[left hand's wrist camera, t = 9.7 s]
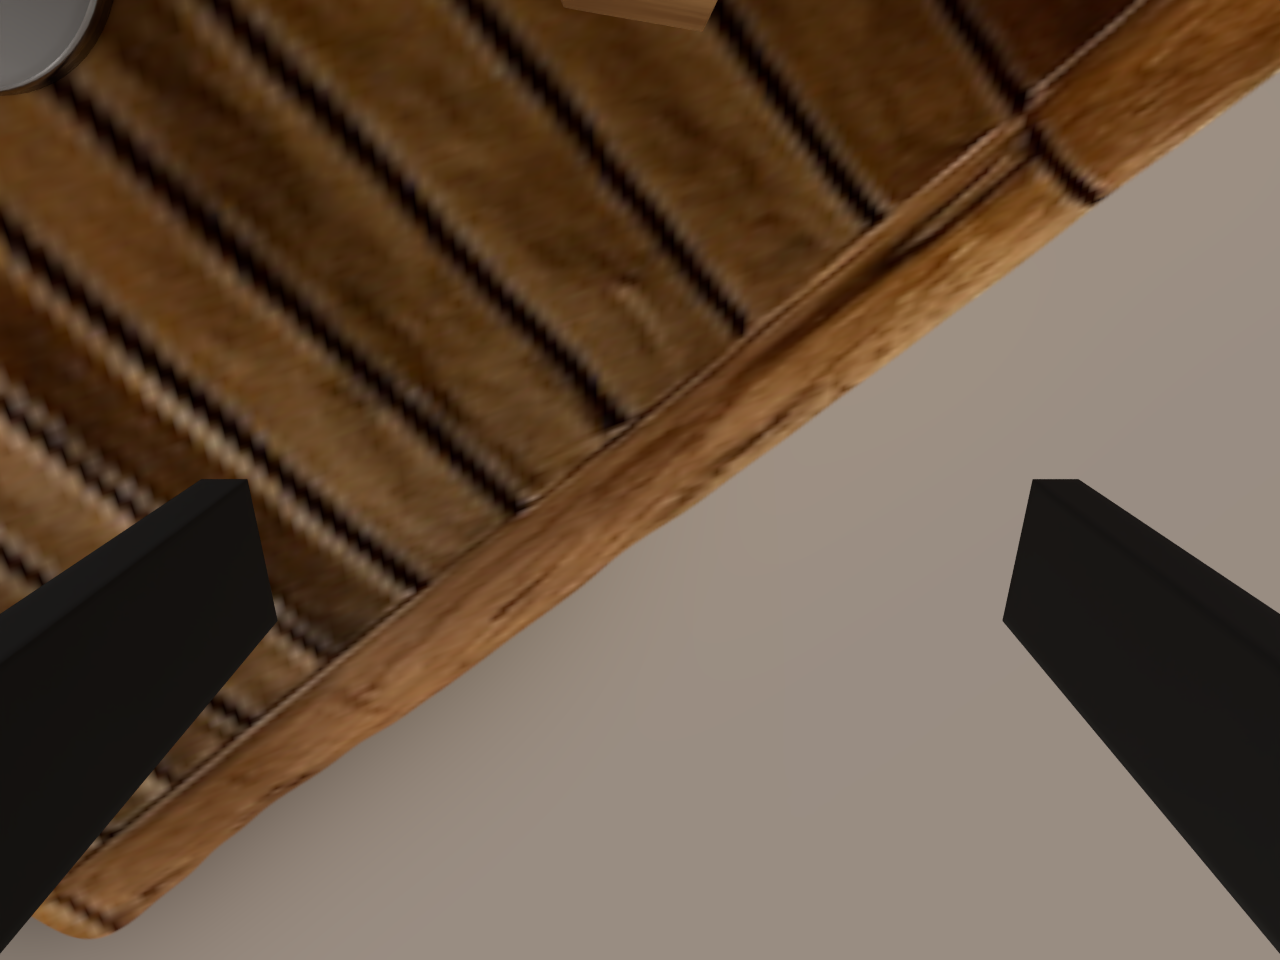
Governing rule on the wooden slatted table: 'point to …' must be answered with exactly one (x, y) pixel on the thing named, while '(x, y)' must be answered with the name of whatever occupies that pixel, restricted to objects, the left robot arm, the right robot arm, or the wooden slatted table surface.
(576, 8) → the bar
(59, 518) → the wooden slatted table surface
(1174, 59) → the wooden slatted table surface
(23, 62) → the left robot arm
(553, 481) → the wooden slatted table surface
